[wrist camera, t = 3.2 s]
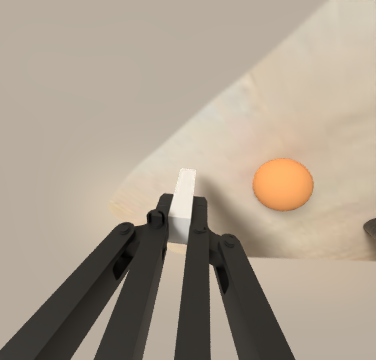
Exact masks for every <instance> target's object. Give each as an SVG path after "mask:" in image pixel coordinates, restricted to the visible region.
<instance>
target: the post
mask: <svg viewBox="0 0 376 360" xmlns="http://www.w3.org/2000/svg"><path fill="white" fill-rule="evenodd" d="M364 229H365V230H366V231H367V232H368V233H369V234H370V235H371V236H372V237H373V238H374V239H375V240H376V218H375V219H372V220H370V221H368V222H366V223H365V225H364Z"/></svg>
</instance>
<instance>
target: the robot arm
mask: <svg viewBox="0 0 376 360" xmlns="http://www.w3.org/2000/svg"><path fill="white" fill-rule="evenodd" d="M195 174H196V170H193V169H184V168H181V170H180V174H179V178H178V181H177V185H176V189H175V192H174V194H166V193H164V194H163V195H162V196H161V197H160V199H159V202H158V204H157V207H156V209H154V210H151V211H150V212H148V214H147V224H145V225H141V226H134V225H133V224H132V223H129V222H124V223H121V224H119V225H118V226H116V227H115V228H114V229H113V230H112V232H110V234H109V235H108V236H107V237H106V238H105V239H104V240H103V241H102V242H101V243H100V244H99V245H98V246H97V248H96V249H95V250H94V251H93V252H92V253H91V254H90V255H89V256H88V257H87V258H86V259H85V260H84V261H83V263H81V265H80V266H79V267H78V268H77V269H76V270H75V271H74V272H73V273H72V274H71V275H70V276H69V277H68V278H67V279H66V281H65V282H64V283H63V284H62V285H61V286H60V287H59V288H58V289H57V290H56V291H55V292H54V294H52V296H51V297H50V298H49V299H48V300H47V301H46V302H45V303H44V304H43V305H42V306H41V307H40V308H39V310H38V311H37V312H36V313H35V314H34V315H33V316H32V317H31V318H30V319H29V320H28V321H27V322H26V323H25V324H24V325H23V326H22V328H21V329H20V330H19V331H18V332H17V333H16V334H15V335H14V336H13V337H12V338H11V339H10V340H9V342H7V344H6V345H5V346H4V347H3V348H2V349H1V350H0V360H70V359H71V358H72V356H73V355H74V353H75V352H76V350H77V348H78V347H79V345H80V344H81V342H82V341H83V339H84V338H85V336H86V335H87V333H88V332H89V330H90V328H91V327H92V325H93V324H94V322H95V321H96V319H97V318H98V316H99V315H100V313H101V312H102V310H103V309H104V307H105V306H106V304H107V302H108V301H109V300H110V298H111V296H112V295H113V293H114V292H115V290H116V289H117V287H118V286H119V284H120V283H121V281H122V280H123V278H124V277H125V275H126V273H127V272H128V270H129V272H128V274H127V277H126V279H125V282H124V284H123V287H122V289H121V292H120V295H119V297H118V300H117V302H116V305H115V307H114V310H113V312H112V315H111V318H110V320H109V322H108V325H107V328H106V330H105V333H104V335H103V338H102V340H101V343H100V345H99V348H98V350H97V353H96V355H95V358H94V360H142V358H143V354H144V349H145V345H146V340H147V336H148V331H149V327H150V322H151V318H152V313H153V309H154V304H155V300H156V295H157V291H158V287H159V282H160V278H161V273H162V268H163V264H164V260H165V255H166V251H167V242H171V243H179V244H187V251H186V260H185V269H184V277H183V286H182V295H181V304H180V312H179V321H178V330H177V339H176V348H175V357H174V360H211V355H210V292H209V291H210V288H209V264H211V265H213V267H214V271H215V275H216V278H217V282H218V285H219V289H220V293H221V296H222V300H223V303H224V307H225V310H226V314H227V318H228V322H229V325H230V329H231V333H232V336H233V340H234V343H235V347H236V350H237V355H238V358H239V360H295V358H294V356H293V354H292V352H291V349H290V347H289V345H288V343H287V341H286V339H285V337H284V335H283V333H282V330H281V328H280V326H279V324H278V322H277V320H276V318H275V316H274V314H273V311H272V309H271V307H270V305H269V303H268V301H267V299H266V297H265V294H264V292H263V290H262V288H261V286H260V284H259V282H258V280H257V278H256V275H255V273H254V271H253V269H252V267H251V265H250V263H249V261H248V258H247V256H246V254H245V252H244V250H243V248H242V246H241V244H240V241H239V240H238V239H237V238H236V237H235V236H234V235H231V234H223V235H222V236H220V235H217V234H215V233H213V232H212V231H211V230H210V229H209V228H208V224H207V200H206V199H205V197H196V196H193V193H194V184H195Z"/></svg>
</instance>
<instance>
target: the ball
mask: <svg viewBox="0 0 376 360" xmlns="http://www.w3.org/2000/svg"><path fill="white" fill-rule="evenodd" d="M253 190H254V193H255V195H256V197H257V198H258V200H259V201H260V202H261V203H262V204H264V205H265V206H267V207H269V208H271V209H274V210H278V211H289V210H293V209H296V208H299V207H300V206H302V205H303V204H305V203H306V202H307V201H308V199H309V198H310V196H311V195H312V192H313V179H312V176H311V174H310V172H309V171H308V169H307V168H306V167H305V166H303V165H302V164H300V163H299V162H297V161H294V160H291V159H275V160H271V161H269V162H267V163H265V164H264V165H262V166H261V167H260V168H259V169H258V170H257V172H256V174H255V176H254V179H253Z"/></svg>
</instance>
